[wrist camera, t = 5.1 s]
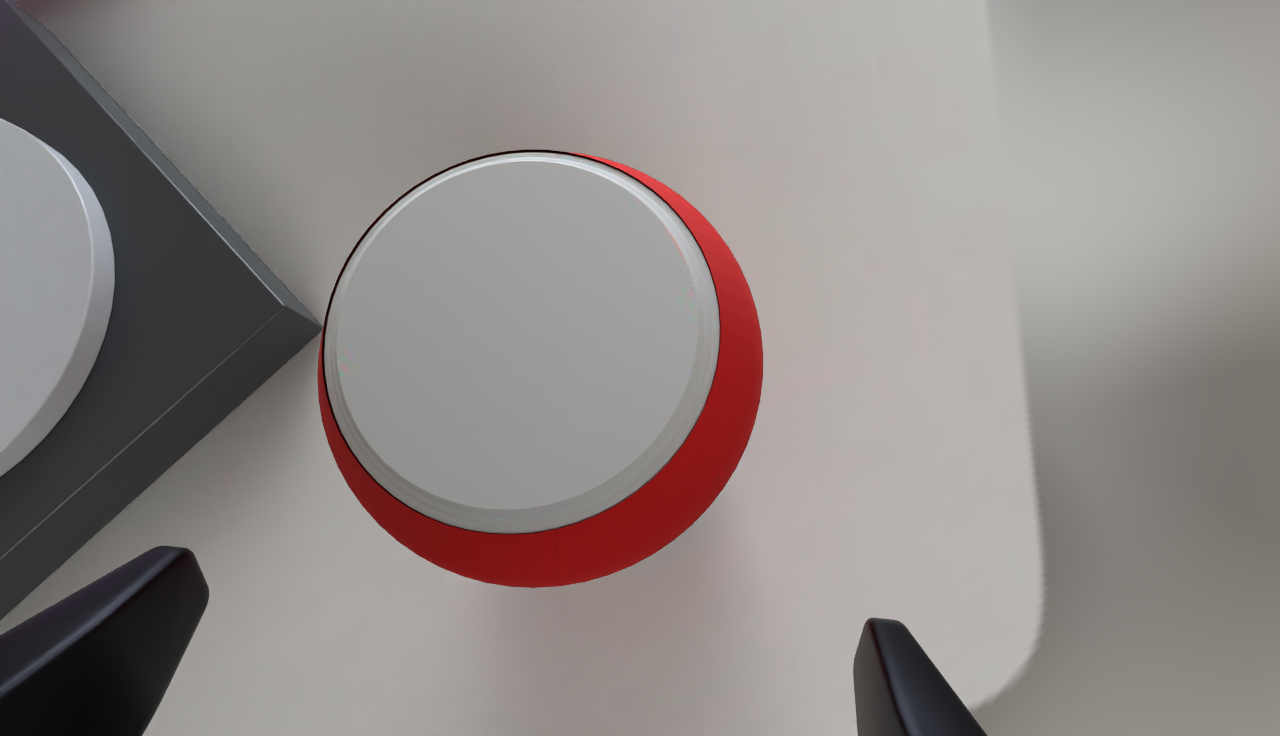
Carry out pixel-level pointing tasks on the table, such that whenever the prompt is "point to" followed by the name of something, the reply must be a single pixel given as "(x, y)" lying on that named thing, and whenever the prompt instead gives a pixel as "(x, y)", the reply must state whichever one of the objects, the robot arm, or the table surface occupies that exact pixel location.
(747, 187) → the table surface
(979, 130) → the table surface
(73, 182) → the scale
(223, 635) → the table surface
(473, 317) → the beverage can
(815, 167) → the table surface
